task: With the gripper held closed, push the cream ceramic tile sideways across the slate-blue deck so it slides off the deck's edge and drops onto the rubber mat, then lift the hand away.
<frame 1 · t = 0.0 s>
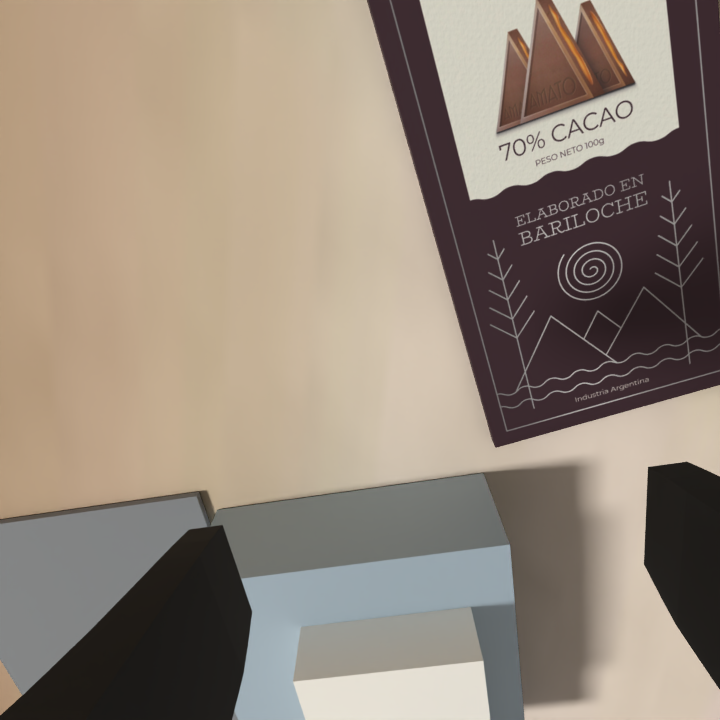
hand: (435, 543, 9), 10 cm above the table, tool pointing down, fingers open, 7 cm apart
tile: (402, 703, 19), point 4 cm above the table, touching deck
mat: (126, 646, 24), on the table
deck: (375, 617, 23), on the table
chocolate bar: (558, 164, 16), on the table
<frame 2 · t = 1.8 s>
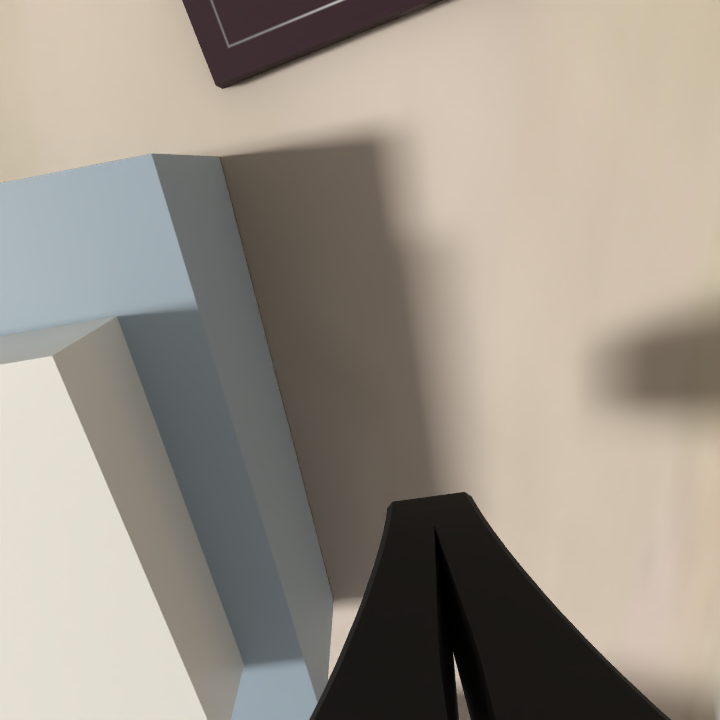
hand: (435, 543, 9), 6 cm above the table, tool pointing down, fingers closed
tile: (57, 535, 11), point 4 cm above the table, touching deck
deck: (103, 445, 15), on the table
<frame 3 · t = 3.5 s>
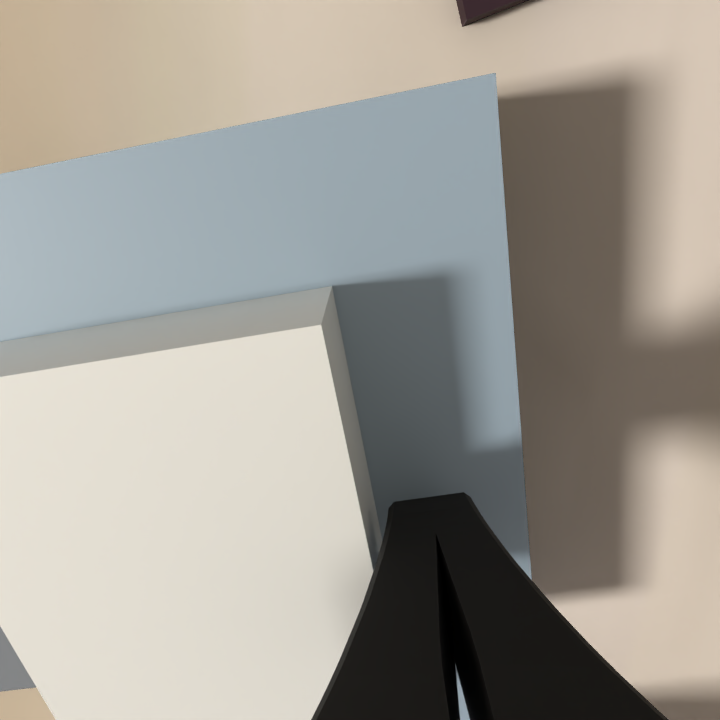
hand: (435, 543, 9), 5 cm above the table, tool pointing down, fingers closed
tile: (224, 536, 10), point 4 cm above the table
deck: (274, 432, 13), on the table
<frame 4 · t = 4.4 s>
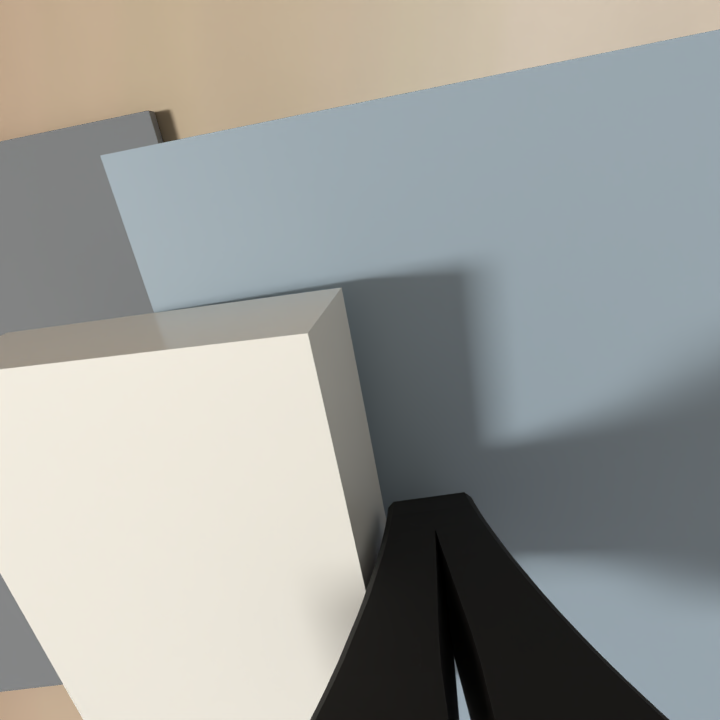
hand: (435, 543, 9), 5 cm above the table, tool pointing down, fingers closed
tile: (235, 533, 10), point 4 cm above the table, tilted 8°, touching gripper
mat: (43, 468, 14), on the table
deck: (473, 402, 13), on the table
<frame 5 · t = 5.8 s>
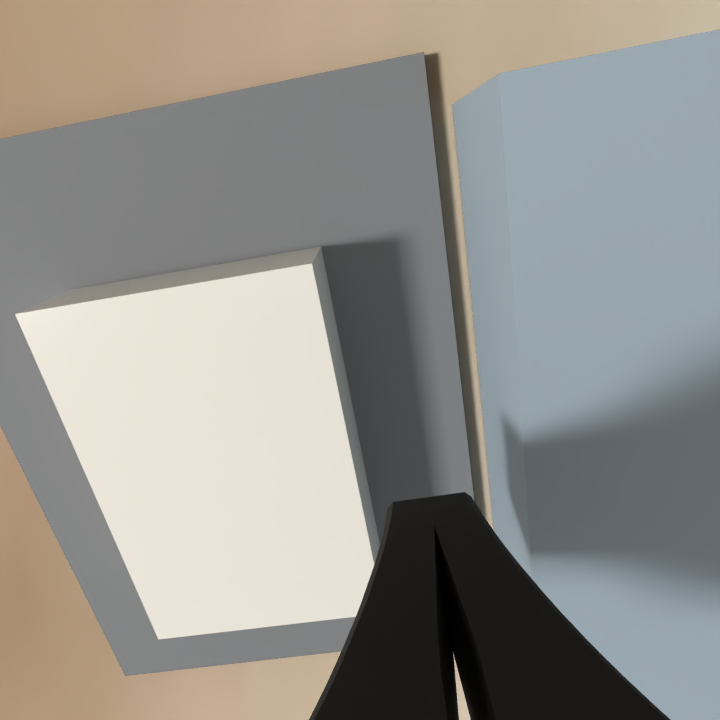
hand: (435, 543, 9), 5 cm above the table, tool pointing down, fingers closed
tile: (222, 482, 11), point 2 cm above the table, tilted 180°, touching mat
mat: (239, 437, 14), on the table
deck: (700, 368, 13), on the table
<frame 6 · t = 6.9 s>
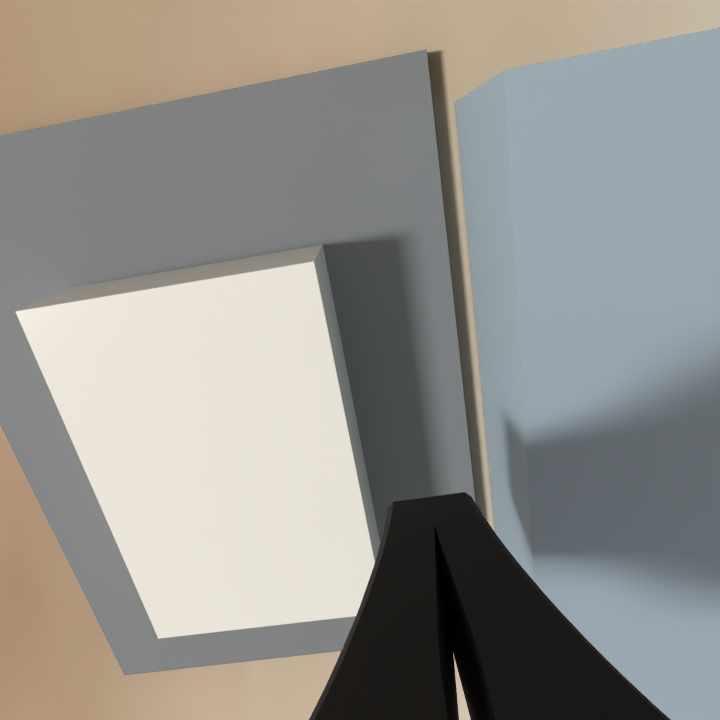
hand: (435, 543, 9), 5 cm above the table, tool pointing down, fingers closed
tile: (223, 481, 11), point 2 cm above the table, tilted 180°, touching mat
mat: (240, 436, 13), on the table
deck: (702, 367, 13), on the table
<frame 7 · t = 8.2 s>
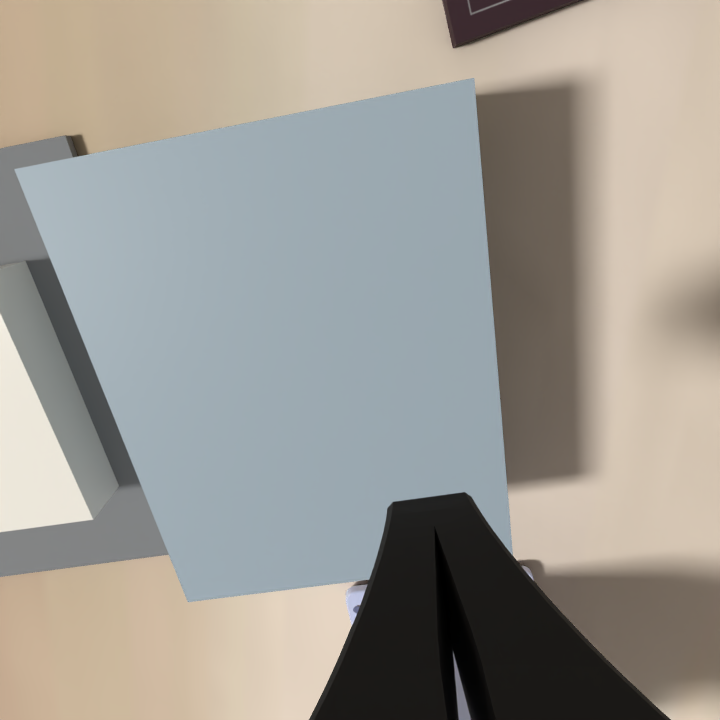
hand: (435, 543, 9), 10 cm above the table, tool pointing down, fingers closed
mat: (1, 396, 19), on the table
deck: (314, 346, 18), on the table
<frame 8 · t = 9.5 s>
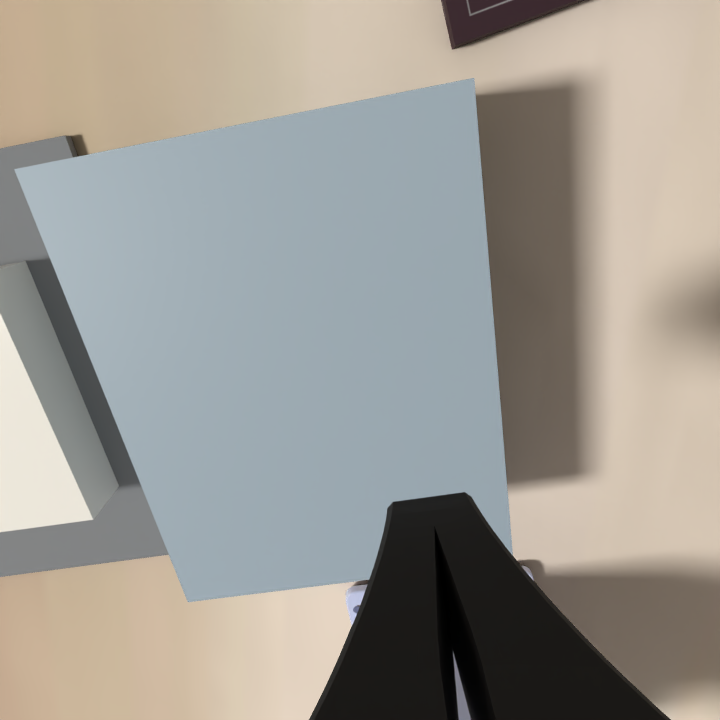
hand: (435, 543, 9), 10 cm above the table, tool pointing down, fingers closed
mat: (1, 396, 19), on the table
deck: (314, 346, 18), on the table
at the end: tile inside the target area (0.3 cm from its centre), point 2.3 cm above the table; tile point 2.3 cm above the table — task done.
